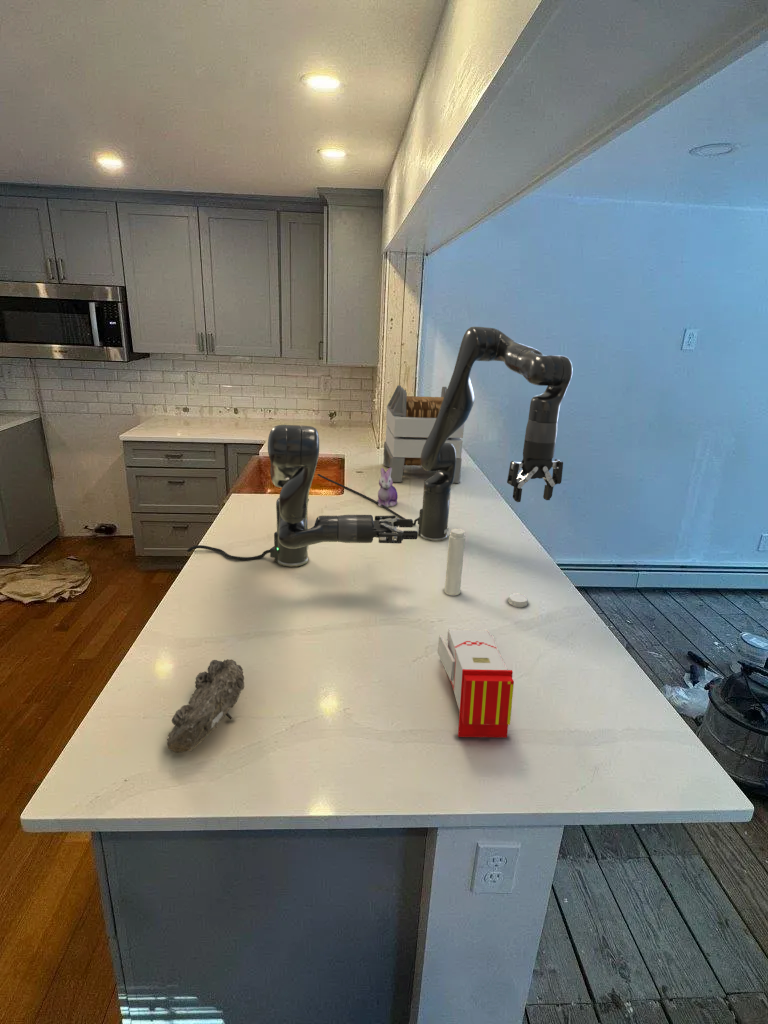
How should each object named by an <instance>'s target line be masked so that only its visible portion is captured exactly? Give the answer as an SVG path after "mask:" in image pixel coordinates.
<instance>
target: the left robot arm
mask: <svg viewBox="0 0 768 1024" xmlns="http://www.w3.org/2000/svg"><path fill="white" fill-rule="evenodd" d="M267 439H268V440H267V453H268V458H269V462H270V463H269V464H270V469H269V471H270V472H269V474H270V480H271V483H272V484H273V485H274V486H275V487H276V488H281V489H280V492H279V496H278V498H277V499H276V502H275V508H276V509H275V510H276V511H275V513H276V531H275V532H274V533H273V542H274V543H273V546H272V547H271V548H269V549H266V550H264V551H263V552H262V553H261V554H259V555H255V556H236V555H231V554H228V553H227V552H226V551H224V550H223V549H221V548H217V547H212V546H208V545H201V544H198V545H197V544H196V545H193V546H191V547H189V548H188V549H187V550H186V552H187V553H190V552H192V551H193V550H197V549H203V550H209V551H212V552H217V553H219V554H221V555H223V557H226V558H227V559H229V560H230V559H231V560H236V561H252V560H259V559H262V558H264V557H265V556H266V555H267V554H270V555H269V556H270V558H273V559H274V562H275V563H277V564H279V565H280V566H282V567H286V568H287V567H288V568H296V567H300V566H304V565H306V564H307V563H308V562H309V552H308V550H309V546H311V545H312V546H313V545H316V544H321V543H345V544H371V543H373V541H374V538H378V543H379V544H402V542H403V541H404V540H417V539H418V536H419V535H418V530H401V529H398V528H413V526H414V525H413V523H414V519H412V518H405V519H401V518H399V517H397V516H396V515H395V514H393V515H375V516H374V517H373V515H372V514H341V515H318V516H317V517H316V519H315V522H314V525H313V526H312V527H310V528H309V527H308V521H309V520H308V508H309V507H308V506H309V505H308V504H309V501H308V499H309V497H310V491H311V487H312V483H313V480H314V478H315V473H316V469H317V466H318V461H319V456H320V436H319V432H318V430H317V428H316V427H314V426H312V425H311V426H310V425H300V424H299V425H295V424H278V425H275V426H273V428H271V430H270V432H269V434H268V437H267Z"/></svg>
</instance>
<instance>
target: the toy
mask: <svg viewBox="0 0 768 1024" xmlns="http://www.w3.org/2000/svg"><path fill="white" fill-rule="evenodd" d="M446 640H447V643H446V641H445V639H444V636H443V635H442V634H439V637H438V646H437V656H438V657H439V659H440V661H441V663H442V666H443V668H444V670H445V672H446V674H447V677H448V679H449V681H450V684H451V687H452V690H453V693H454V697H455V701H456V705H457V708H458V711H459V714H458V715H459V716H458V730H457V731H458V732H457V737H458V738H508V731H509V726H510V725H511V717H512V707H513V697H514V696H513V695H514V684H515V680H514V679H513V673H514V671H513V670H512V669H508V667H507V665H506V662H505V661H504V659H503V658H502V655H501V653H500V651H499V649H498V647H497V643H496V639H495V637H494V635H493V634H491V632H490V631H489V629H467V628H466V629H465V628H463V629H461V628H460V629H459V628H448V630H447V639H446Z"/></svg>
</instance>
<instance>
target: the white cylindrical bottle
mask: <svg viewBox="0 0 768 1024" xmlns="http://www.w3.org/2000/svg"><path fill="white" fill-rule="evenodd" d="M465 544H466V532H465V530H464V529H461V528H452V529H451V530H450V533H449V535H448V546H447V558H446V570H445V580H444V593H445V594H446V595H448V596H459V594H460V593H461V586H462V585H461V584H462V577H463V575H462V574H463V566H464V565H463V564H464V555H465Z"/></svg>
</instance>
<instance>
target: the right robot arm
mask: <svg viewBox="0 0 768 1024" xmlns="http://www.w3.org/2000/svg"><path fill="white" fill-rule="evenodd" d="M476 362H504V365H505V366H506V368H508V369H509V370H510V371H512V372H514V373H516V374H518V375H519V376H522V377H523V378H524V379H525V380H526V381H527V382H528V383H529V384H532V385H534V386H539V387H542V386H544V387H545V386H546V388H545V391H543V392H541V394H536V395H534V396H533V397H532V398H531V399H530V404H529V411H528V417H527V418H528V419H527V423H526V427H525V432H524V433H525V434H524V442H523V450H522V460H521V461H514V460H511V461H510V463H509V469H508V474H507V479H506V483H507V484H508V485H510V486H511V487H513V490H512V499H513V500H514V502H516V503H521V500H522V494H523V488H522V487H523V486H524V485H525V484H526V483H528V482H529V481H530V480H536V479H539V480H540V479H543V481H544V483H545V484H544V487H543V488H544V489H543V495H542V498H543V499H544V500H545V501H551V499H552V497H553V493H554V487H555V486H556V485H560V484H562V479H563V469H564V462H563V461H561V460H560V459H557V458H556V459H554V460H553V458H554V457H555V450H556V443H557V436H558V424H559V423H558V422H559V416H560V408H561V405H562V401H563V400H564V398H565V396H566V393H567V390H568V388H569V386H570V383H571V381H572V377H573V363H572V361H571V359H570V358H569V357H567V356H566V355H561V354H560V355H559V354H558V355H556V354H555V355H554V354H553V355H552V354H551V355H549V354H547V355H546V354H543V353H542V351H540V350H539V349H536V348H534V347H532V346H528V345H526V344H523V343H520V342H517V341H515V340H514V339H512V338H511V337H509V336H508V335H507V334H505V333H504V332H502V331H501V330H499V329H497V328H494V327H485V326H470V327H469V328H467V329H466V331H465V333H464V334H463V336H462V340H461V342H460V346H459V350H458V353H457V357H456V361H455V364H454V368H453V372H452V374H451V378H450V381H449V383H448V386H447V391H446V393H445V396H444V399H443V401H442V404H441V407H440V410H439V413H438V416H437V418H436V421H435V423H434V426H433V428H432V430H431V432H430V434H429V436H428V438H427V440H426V442H425V444H424V447H423V449H422V452H421V465H422V466H421V467H422V469H423V470H424V471H426V472H434V474H433V475H431V476H429V477H428V478H427V479H425V480H424V482H423V493H422V496H423V497H422V506H421V508H420V509H419V516H418V517H417V518H415V519H413V526H416V525H418V530H417V532H418V536H420V538H421V539H424V540H426V541H432V542H440V541H444V540H446V539H447V538H448V532H450V531H449V529H450V528H449V527H448V525H449V517H450V516H449V514H450V504H451V494H452V493H451V491H452V486H453V484H454V483H453V479H454V472H455V465H456V451H455V448H454V446H453V445H452V444H451V443H445V442H446V440H447V439H448V438H449V437H450V436H451V435H452V434H453V433H454V432H455V431H456V430H458V429H459V428H460V427H461V426H462V425H463V424H464V425H465V423H466V421H467V420H468V418H469V416H470V414H471V411H472V409H473V406H474V404H475V393H474V388H473V384H472V382H471V373H472V369H473V366H474V364H475V363H476ZM551 469H552V474H551V472H550V470H551ZM519 471H520V472H519ZM317 476H318V477H320V478H322V479H324V480H326V481H327V482H330V483H332V484H335V485H337V486H339V487H341V488H344V489H346V490H348V491H350V492H353V493H354V494H357V495H358V496H361V497H362V498H365V499H366V500H369V501H371V502H372V503H374V504H376V505H378V504H379V503H378V502H377V501H378V500H377V501H376V500H375V499H373V498H371V497H370V496H367V495H365V494H364V493H362V492H359V491H357V490H354V489H352V488H350V487H348V486H345V485H343V484H341V483H339V482H338V481H337V482H336V481H334V480H333V479H330V478H328V477H326V476H324V475H322V474H321V473H317ZM381 507H382V508H383V509H385V510H387V511H388V512H390V513H391V514H393V515H394V516H396V517H397V518H399V519H406V518H405V517H403V516H402V515H400V514H399V513H397V512H396V511H394V510H392V509H391V508H389V507H386V506H384V505H381V506H380V508H381Z"/></svg>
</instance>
